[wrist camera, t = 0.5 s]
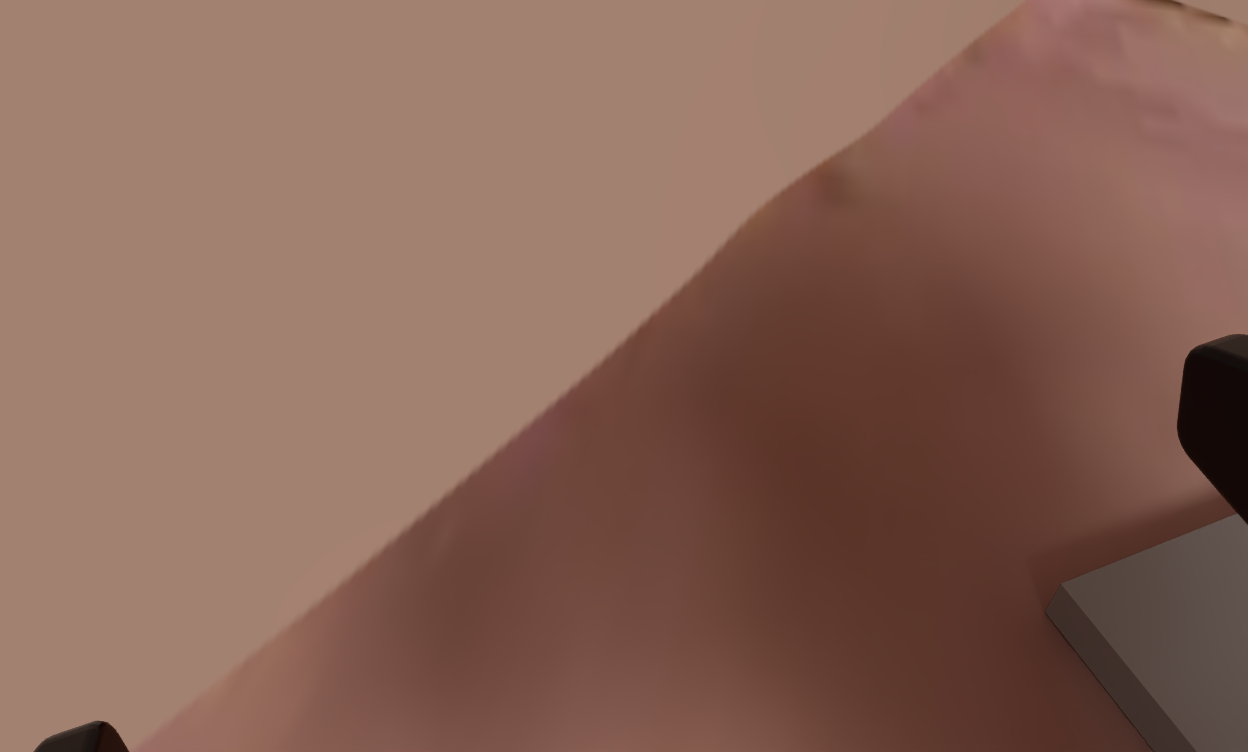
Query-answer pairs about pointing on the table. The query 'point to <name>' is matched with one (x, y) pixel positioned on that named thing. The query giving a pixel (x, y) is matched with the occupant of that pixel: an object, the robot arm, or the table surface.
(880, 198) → the table surface
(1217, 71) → the table surface
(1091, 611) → the board
